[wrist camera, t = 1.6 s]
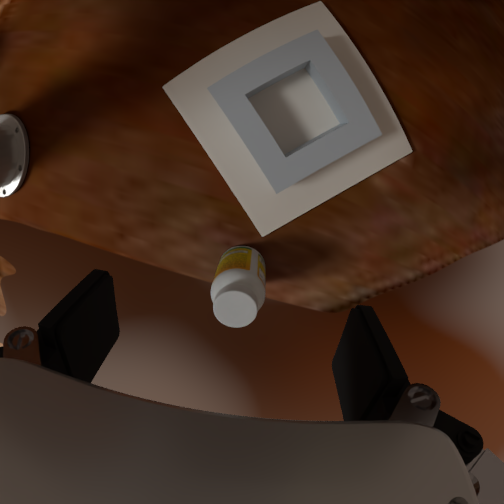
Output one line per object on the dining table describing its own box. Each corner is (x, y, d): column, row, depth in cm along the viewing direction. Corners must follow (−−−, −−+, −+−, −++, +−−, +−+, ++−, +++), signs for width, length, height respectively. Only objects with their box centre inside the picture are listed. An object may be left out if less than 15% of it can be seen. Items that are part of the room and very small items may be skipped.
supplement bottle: (274, 261, 34) (278, 305, 26) (247, 293, 36) (243, 342, 27) (236, 235, 33) (227, 272, 24) (210, 269, 35) (195, 314, 26)
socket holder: (262, 234, 33) (262, 248, 29) (164, 88, 27) (150, 81, 23) (409, 151, 29) (428, 154, 25) (319, 3, 23) (327, -13, 19)
